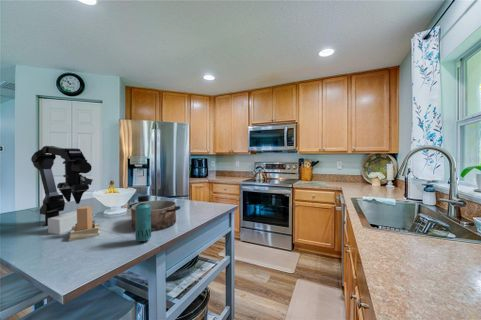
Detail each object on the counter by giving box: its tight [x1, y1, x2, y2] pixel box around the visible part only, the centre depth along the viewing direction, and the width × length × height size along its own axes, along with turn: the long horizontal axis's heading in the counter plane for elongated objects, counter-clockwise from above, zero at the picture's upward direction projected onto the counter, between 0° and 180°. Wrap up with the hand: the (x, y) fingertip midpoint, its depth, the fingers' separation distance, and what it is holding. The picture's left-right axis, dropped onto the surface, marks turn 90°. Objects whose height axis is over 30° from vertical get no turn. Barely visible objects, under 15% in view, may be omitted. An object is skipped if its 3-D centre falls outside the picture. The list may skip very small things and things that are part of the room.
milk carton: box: [47, 210, 95, 235], centre depth 105 cm, size 7×7×19 cm
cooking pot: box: [129, 199, 181, 232], centre depth 109 cm, size 30×22×11 cm
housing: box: [68, 220, 100, 242], centre depth 96 cm, size 14×11×4 cm
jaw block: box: [76, 205, 93, 231], centre depth 95 cm, size 4×4×12 cm
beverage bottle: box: [134, 195, 153, 242], centre depth 88 cm, size 6×7×20 cm
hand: (73, 202), depth 103 cm, fingers open, 9 cm apart
